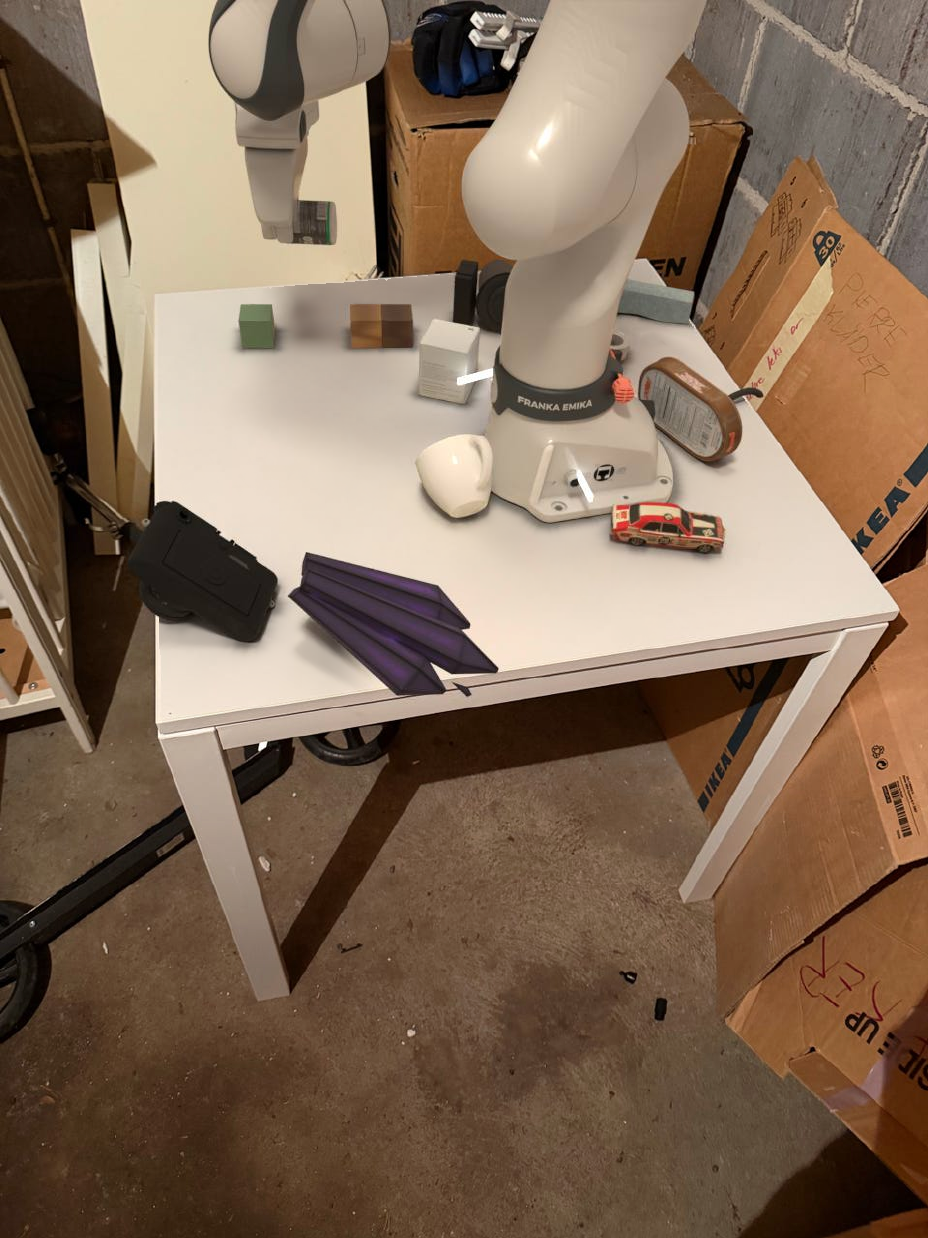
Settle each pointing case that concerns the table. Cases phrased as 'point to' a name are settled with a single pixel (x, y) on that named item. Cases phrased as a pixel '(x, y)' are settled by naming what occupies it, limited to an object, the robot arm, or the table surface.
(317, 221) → the pill bottle
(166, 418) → the table surface
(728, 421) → the tin
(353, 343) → the block beech
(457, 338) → the product box
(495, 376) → the robot arm
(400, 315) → the block walnut
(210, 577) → the camera
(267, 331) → the block sage
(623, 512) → the race car
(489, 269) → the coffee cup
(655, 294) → the light blue foam bar
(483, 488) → the cup
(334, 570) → the crystal
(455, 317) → the ink cartridge
